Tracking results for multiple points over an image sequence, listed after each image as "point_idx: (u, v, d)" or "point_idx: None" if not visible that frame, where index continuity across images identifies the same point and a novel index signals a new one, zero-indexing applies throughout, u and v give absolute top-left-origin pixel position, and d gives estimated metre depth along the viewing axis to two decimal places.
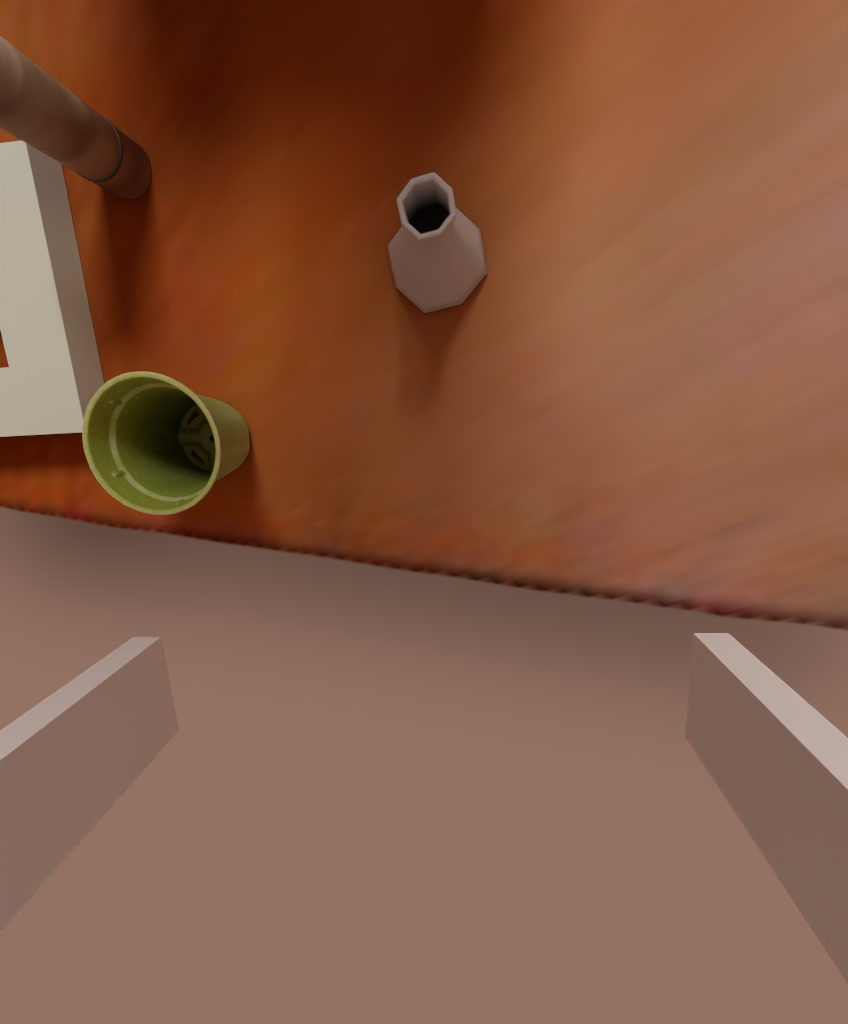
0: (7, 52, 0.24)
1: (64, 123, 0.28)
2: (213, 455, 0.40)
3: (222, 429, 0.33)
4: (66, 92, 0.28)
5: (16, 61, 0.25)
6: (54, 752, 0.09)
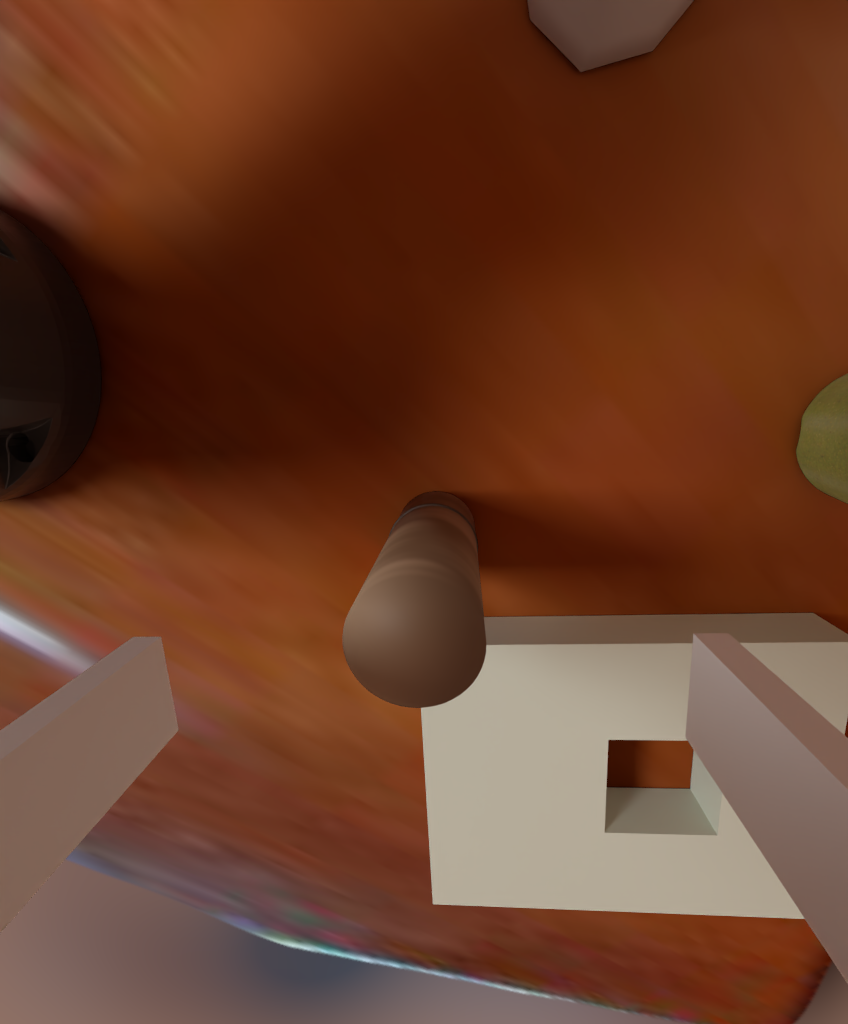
0: (397, 569, 0.13)
1: (451, 540, 0.17)
2: None
3: None
4: (401, 534, 0.17)
5: (404, 562, 0.14)
6: (54, 751, 0.09)
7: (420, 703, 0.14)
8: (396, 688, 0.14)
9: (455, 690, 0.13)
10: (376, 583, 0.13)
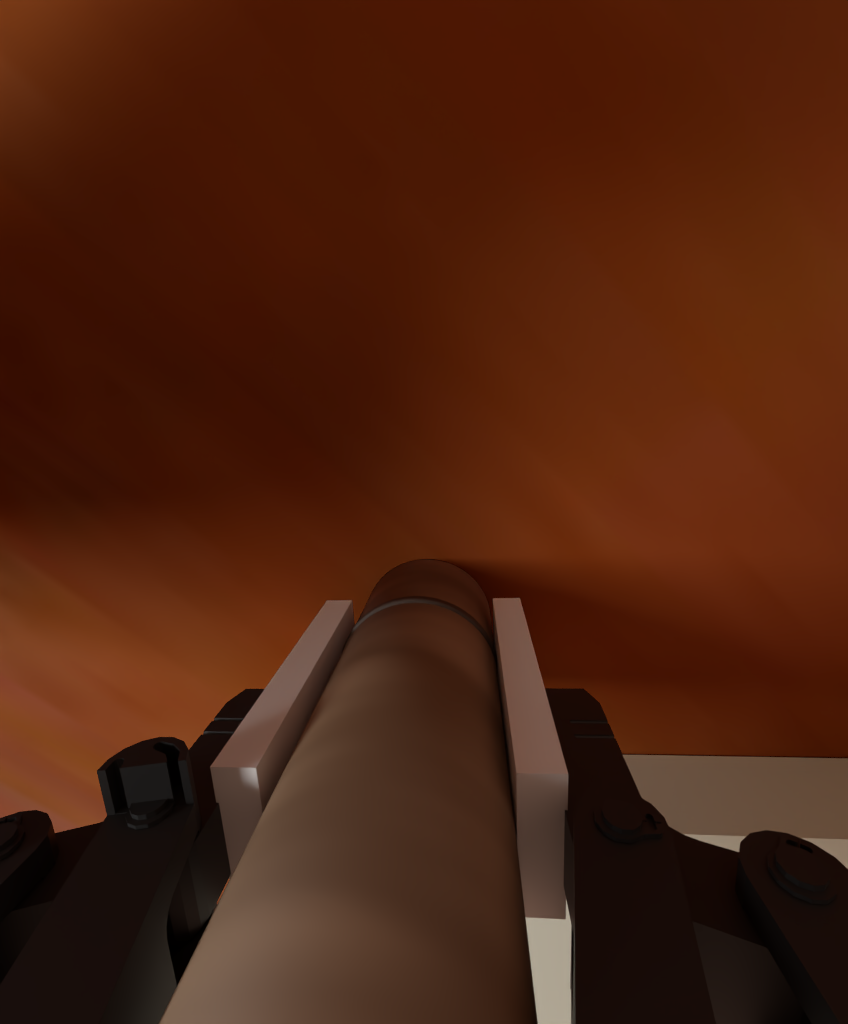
0: (268, 985, 0.04)
1: (450, 737, 0.07)
2: None
3: None
4: (340, 708, 0.08)
5: (299, 931, 0.04)
6: (319, 686, 0.11)
7: None
8: None
9: None
10: None
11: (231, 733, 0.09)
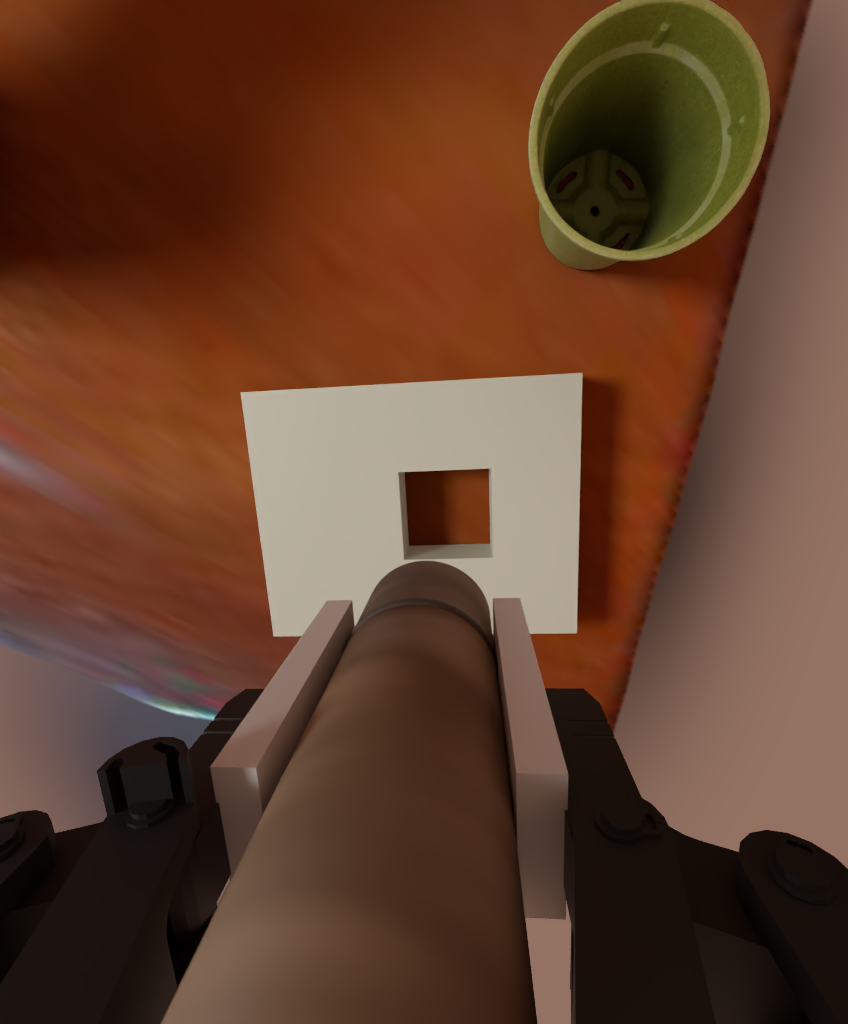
0: (265, 994, 0.04)
1: (449, 742, 0.07)
2: (620, 211, 0.27)
3: (612, 66, 0.21)
4: (340, 712, 0.08)
5: (297, 939, 0.04)
6: (319, 686, 0.11)
7: None
8: None
9: None
10: None
11: (231, 733, 0.09)
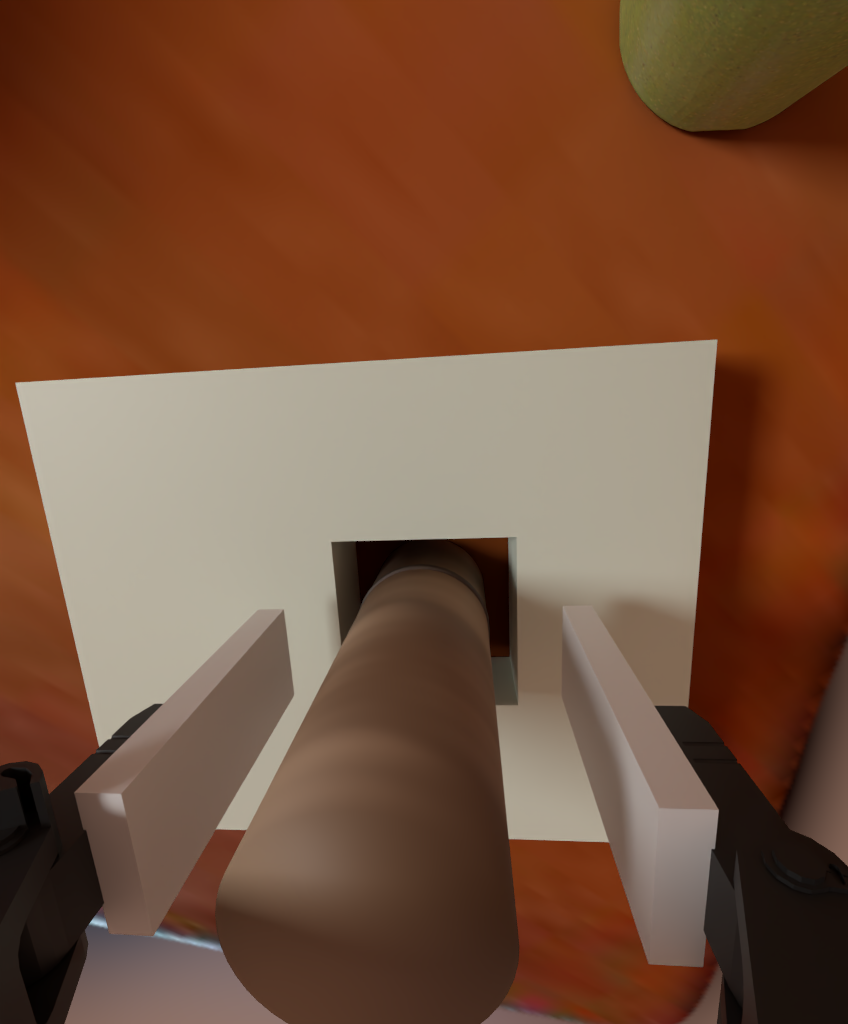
0: (333, 769, 0.07)
1: (448, 655, 0.10)
2: None
3: None
4: (364, 638, 0.10)
5: (350, 746, 0.07)
6: (228, 701, 0.10)
7: None
8: (330, 1014, 0.07)
9: None
10: (282, 816, 0.06)
11: None
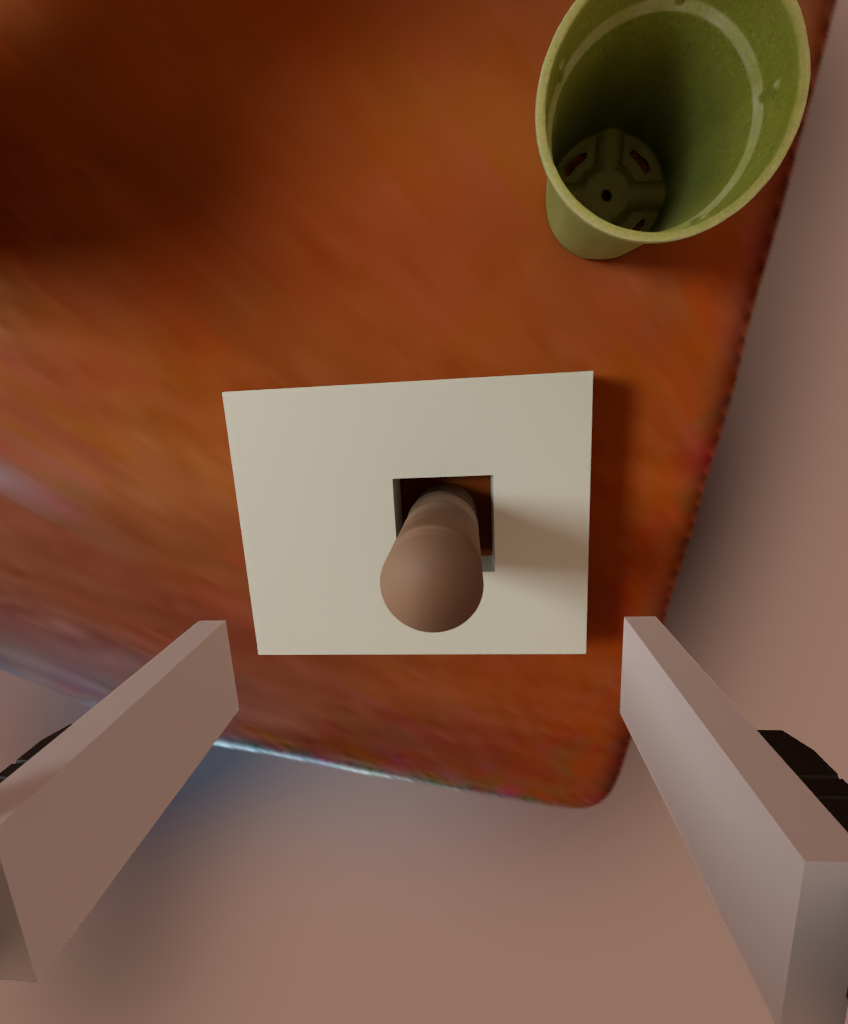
0: (419, 531, 0.19)
1: (458, 515, 0.22)
2: (634, 196, 0.25)
3: (629, 27, 0.19)
4: (419, 512, 0.23)
5: (424, 527, 0.19)
6: (148, 721, 0.10)
7: (435, 629, 0.19)
8: (418, 618, 0.19)
9: (461, 619, 0.18)
10: (405, 540, 0.18)
11: None
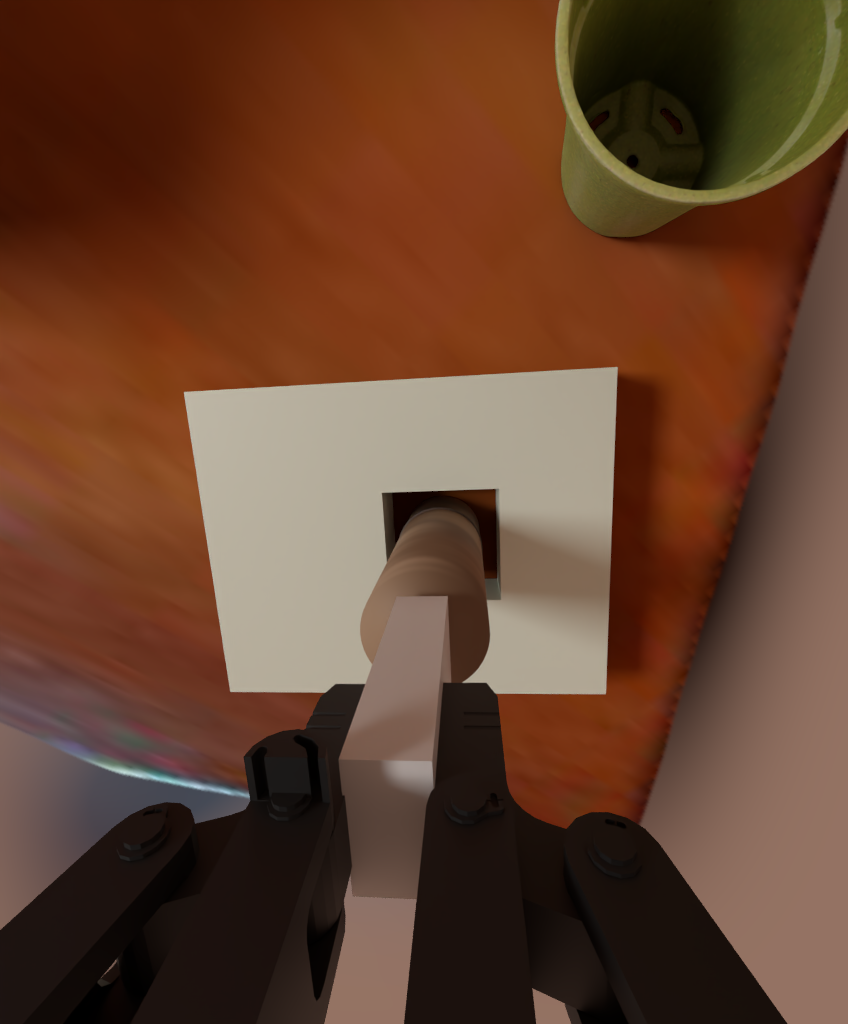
0: (409, 565, 0.15)
1: (458, 540, 0.18)
2: (666, 161, 0.21)
3: None
4: (411, 535, 0.19)
5: (415, 560, 0.15)
6: None
7: None
8: None
9: (462, 675, 0.15)
10: (391, 578, 0.14)
11: (335, 727, 0.09)
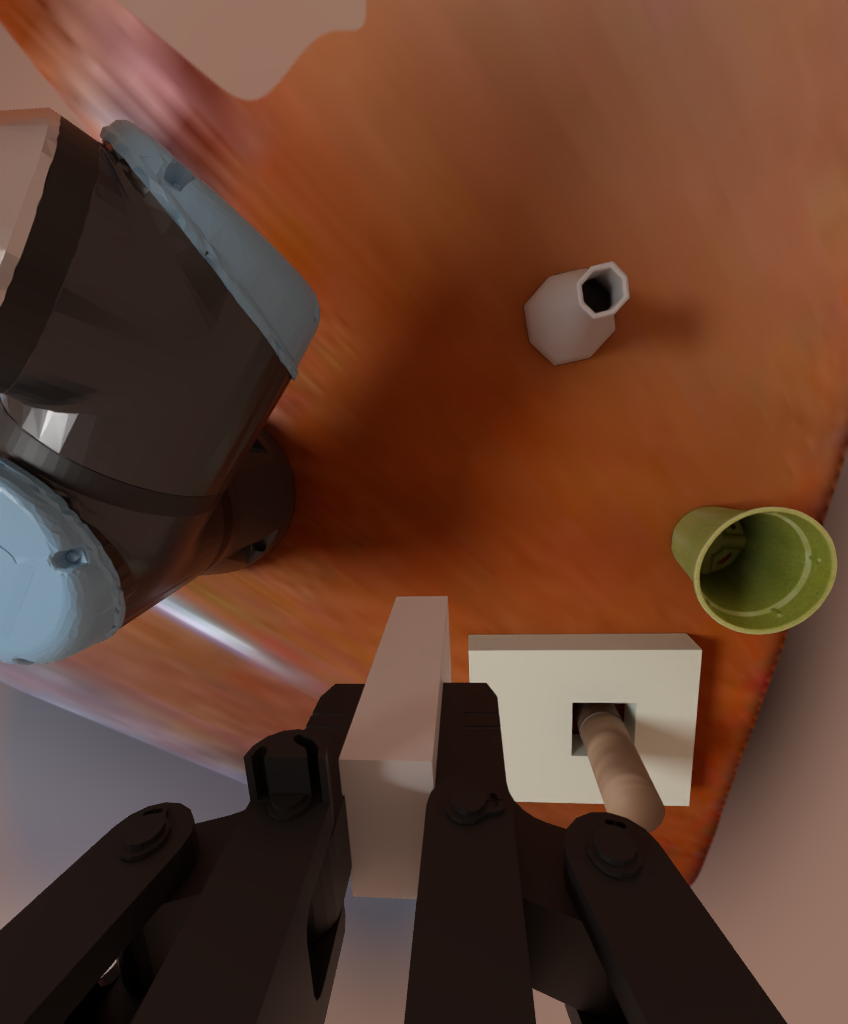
0: (628, 781, 0.35)
1: (632, 751, 0.38)
2: (726, 542, 0.41)
3: (739, 513, 0.35)
4: (607, 745, 0.39)
5: (628, 777, 0.35)
6: None
7: None
8: None
9: (651, 829, 0.35)
10: (623, 790, 0.35)
11: (335, 727, 0.09)
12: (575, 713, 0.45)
